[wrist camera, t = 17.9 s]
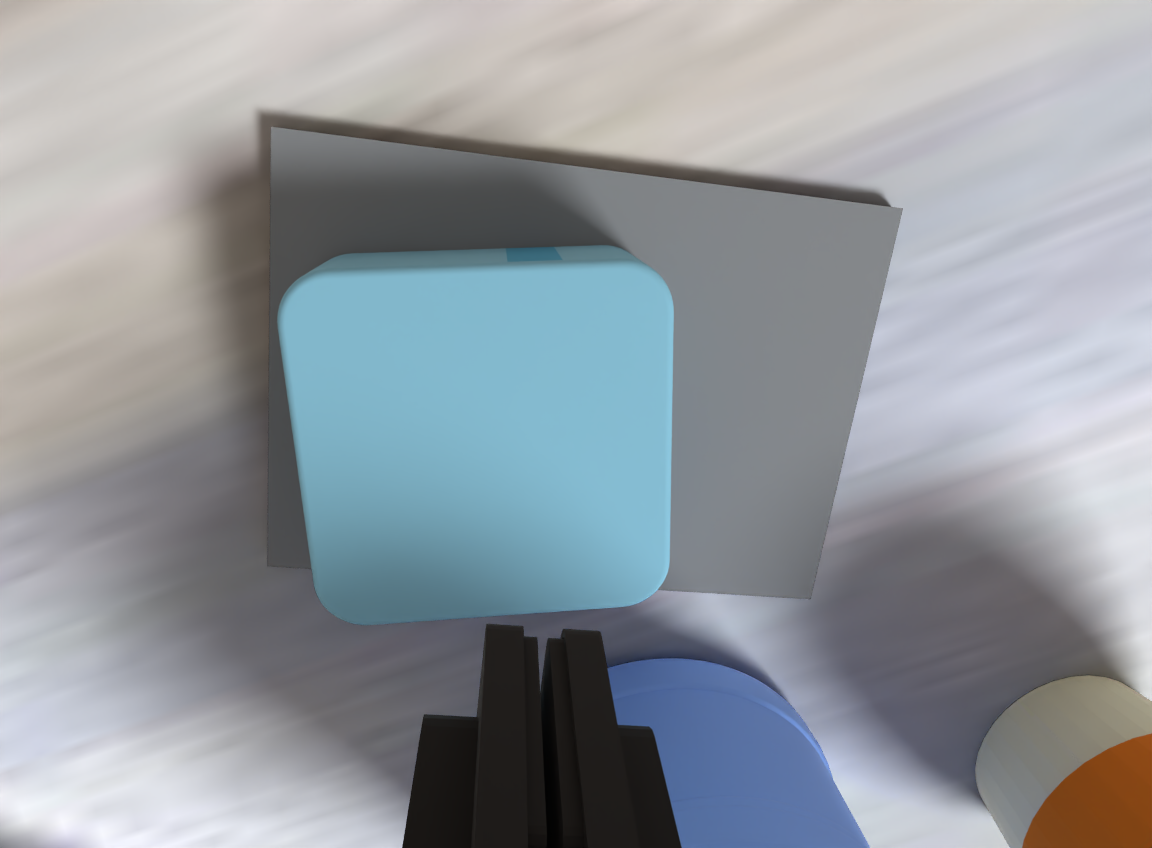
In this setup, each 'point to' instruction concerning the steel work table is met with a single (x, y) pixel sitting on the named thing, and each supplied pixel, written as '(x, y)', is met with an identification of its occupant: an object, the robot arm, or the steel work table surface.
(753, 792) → the water jug
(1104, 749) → the reusable coffee cup
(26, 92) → the steel work table surface
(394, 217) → the mat
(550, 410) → the data package
